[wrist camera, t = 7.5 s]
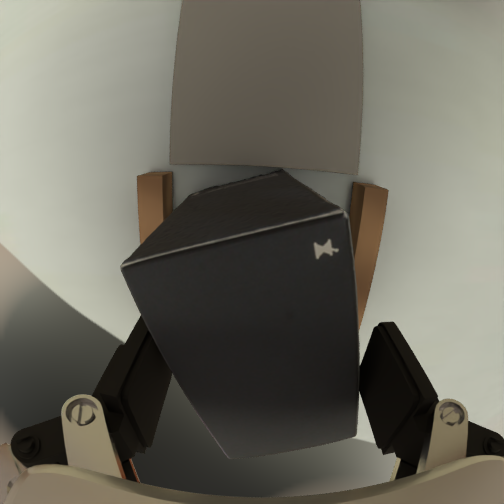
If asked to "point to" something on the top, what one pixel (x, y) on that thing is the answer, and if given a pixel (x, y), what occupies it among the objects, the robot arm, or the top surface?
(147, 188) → the brown open frame
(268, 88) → the rubber mat
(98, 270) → the top surface
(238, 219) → the small box
